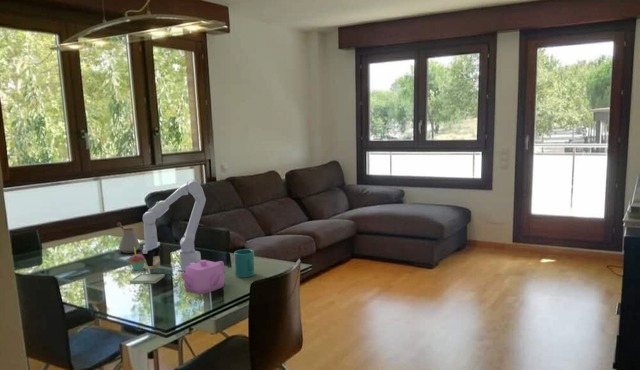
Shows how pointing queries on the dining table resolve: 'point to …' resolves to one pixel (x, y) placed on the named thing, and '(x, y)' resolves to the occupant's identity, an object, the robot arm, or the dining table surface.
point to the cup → (244, 263)
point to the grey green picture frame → (147, 278)
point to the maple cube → (155, 263)
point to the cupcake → (137, 261)
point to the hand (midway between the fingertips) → (152, 264)
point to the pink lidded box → (204, 276)
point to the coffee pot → (128, 240)
